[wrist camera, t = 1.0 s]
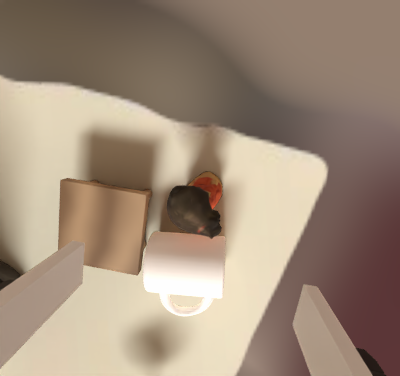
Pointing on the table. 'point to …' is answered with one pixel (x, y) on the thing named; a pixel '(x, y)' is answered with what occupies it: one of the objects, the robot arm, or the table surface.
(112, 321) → the table surface
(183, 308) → the mug
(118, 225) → the tan legged square part
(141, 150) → the table surface
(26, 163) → the table surface
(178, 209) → the figurine
